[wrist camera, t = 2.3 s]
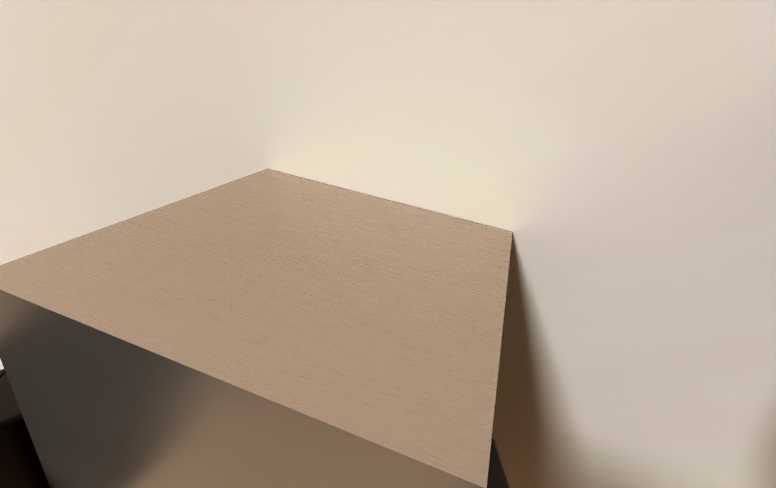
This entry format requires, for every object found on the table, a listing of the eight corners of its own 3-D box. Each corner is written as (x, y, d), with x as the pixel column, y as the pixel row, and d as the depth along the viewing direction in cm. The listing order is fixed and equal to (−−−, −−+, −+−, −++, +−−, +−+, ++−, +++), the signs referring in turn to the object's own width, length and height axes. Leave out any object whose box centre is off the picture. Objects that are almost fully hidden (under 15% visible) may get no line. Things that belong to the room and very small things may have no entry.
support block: (512, 232, 7) (487, 488, 3) (433, 477, 10) (362, 778, 6) (267, 168, 8) (-30, 276, 4) (264, 407, 11) (99, 616, 7)
